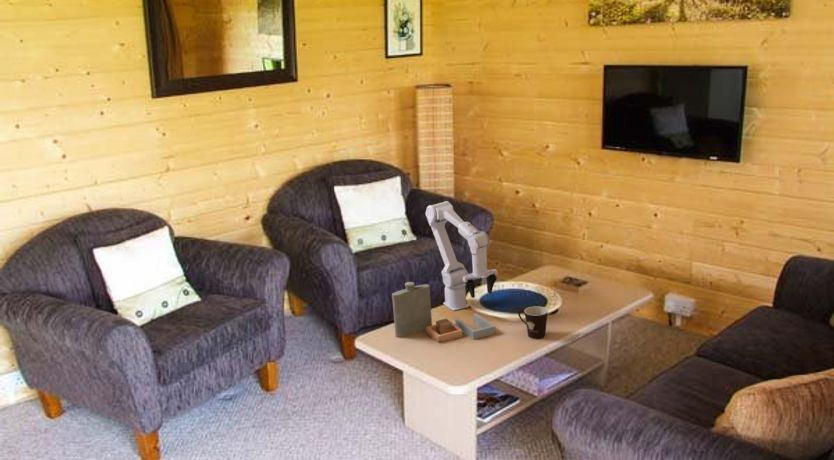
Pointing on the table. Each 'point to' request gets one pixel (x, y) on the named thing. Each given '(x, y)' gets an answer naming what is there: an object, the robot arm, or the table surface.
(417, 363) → the table surface
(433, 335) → the tray
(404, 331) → the hip flask
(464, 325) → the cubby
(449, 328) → the walnut cube
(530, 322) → the coffee mug
